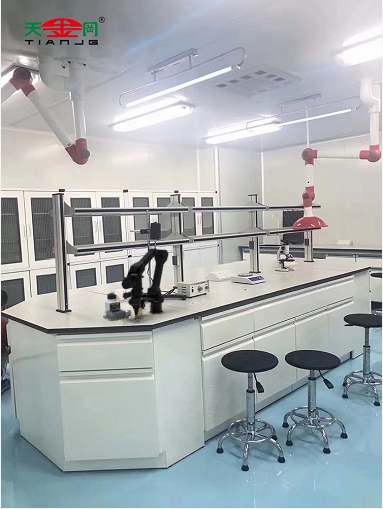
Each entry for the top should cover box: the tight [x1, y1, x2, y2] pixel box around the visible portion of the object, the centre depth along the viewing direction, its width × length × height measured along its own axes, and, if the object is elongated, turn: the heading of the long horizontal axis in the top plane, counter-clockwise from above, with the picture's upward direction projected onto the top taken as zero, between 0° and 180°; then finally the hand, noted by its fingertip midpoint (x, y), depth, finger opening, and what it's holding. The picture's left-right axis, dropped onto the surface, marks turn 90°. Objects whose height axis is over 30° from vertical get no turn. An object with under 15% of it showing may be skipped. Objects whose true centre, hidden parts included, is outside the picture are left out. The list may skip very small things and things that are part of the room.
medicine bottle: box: [104, 292, 121, 313], centre depth 252 cm, size 7×7×12 cm
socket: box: [102, 308, 132, 322], centre depth 240 cm, size 15×11×4 cm
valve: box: [134, 304, 143, 320], centre depth 235 cm, size 4×4×8 cm
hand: (138, 313), depth 235 cm, fingers open, 9 cm apart
